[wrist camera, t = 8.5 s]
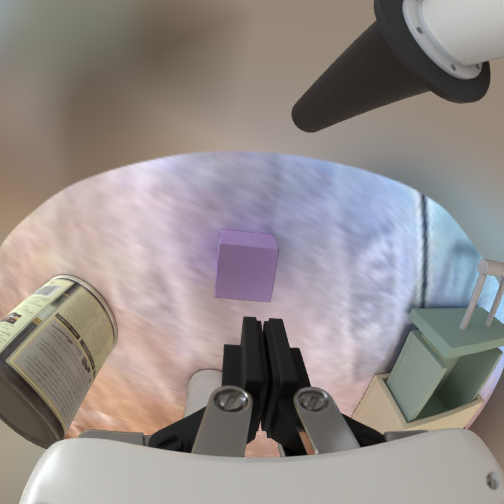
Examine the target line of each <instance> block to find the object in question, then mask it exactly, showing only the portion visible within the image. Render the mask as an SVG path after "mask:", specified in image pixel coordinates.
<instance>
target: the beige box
mask: <svg viewBox="0 0 504 504" xmlns="http://www.w3.org/2000/svg"><path fill="white" fill-rule="evenodd" d="M389 375H390V373H386V374H377V375H374V377H373V379H372V381H371V383H370V385H369V387H368V389H367V391H366V393H365V395H364V396H363V398H362V400H361V402H360V404H359V406H358V407H357V409H356V411H355V413H354V414H353V416H352V419H354V420H356V421H358V422H360V423H362V424H364V425H366V426H369V427H371V428H373V429H375V430H377V431H378V432H380V433H381V434H384V432H387V431H412V430H428V431H433V430H438V429H447V428H461V429H463V428H464V427H465V426H466V425H467V423H468V422H469V421H470V420H471V418H472V417H473V416H474V415H475V413H476V412H477V411H478V409H479V408H480V407H481V405H482V404H483V402H484V400H483V399H482V398H481V396H480V395H479V394H478V395H477V397H476V398H475V400H474V401H473V402H470V403H468V404H465V405H463V406H460V407H458V408H455V409H452V410H449V411H446V412H444V413H441V414H437V415H434V416H431V417H428V418H424V419H421V420H417V421H414V422H410V423H407V422H406V420H405V418H404V417H403V415H402V413H401V411H400V409H399V407H398V406H397V404H396V402H395V400H394V398H393V397H392V395H391V393H390V391H389V390H388V388H387V386H386V384H385V383H386V381H387V379H388V377H389Z"/></svg>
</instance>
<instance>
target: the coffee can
mask: <svg viewBox="0 0 504 504" xmlns="http://www.w3.org/2000/svg"><path fill="white" fill-rule="evenodd" d="M116 341H117V326H116V322H115V319H114V316H113V314H112V312H111V310H110V308H109V306H108V305H107V303H106V302H105V300H104V299H103V298H102V296H101V295H100V294H99V293H98V292H97V291H96V290H95V289H94V288H92V287H91V286H90V285H89V284H88V283H86V282H84V281H83V280H81V279H79V278H77V277H74V276H70V275H59V276H55V277H53V278H51V279H50V280H49V281H48V282H47V283H46V284H45V285H43V286H42V287H41V288H39V289H38V290H37V291H36V292H34V293H33V294H32V295H31V296H29V297H28V298H27V299H26V300H24V301H23V302H22V303H21V304H19V305H18V306H17V307H16V308H15V309H13V310H12V311H11V312H10V313H9V314H7V315H6V316H5V317H4V318H3V319H2V320H1V321H0V419H1V420H2V421H3V422H5V423H6V424H7V425H8V426H9V427H10V428H12V429H13V430H14V431H15V432H17V433H18V434H19V435H21V436H22V437H24V438H25V439H27V440H28V441H30V442H32V443H34V444H36V445H38V446H40V447H42V448H45V449H48V448H49V447H50V446H51V445H53V444H54V443H56V442H58V441H61V440H64V437H65V435H66V433H67V431H68V429H69V427H70V425H71V423H72V421H73V419H74V417H75V415H76V413H77V411H78V409H79V407H80V405H81V403H82V402H83V400H84V398H85V396H86V394H87V392H88V390H89V388H90V387H91V385H92V383H93V381H94V379H95V378H96V376H97V374H98V372H99V370H100V369H101V367H102V365H103V363H104V362H105V360H106V358H107V357H108V355H109V353H110V352H111V351H112V349H113V348H114V346H115V344H116Z"/></svg>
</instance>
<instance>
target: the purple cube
mask: <svg viewBox="0 0 504 504" xmlns="http://www.w3.org/2000/svg"><path fill="white" fill-rule="evenodd" d="M278 254H279V248H278V246H277V243H276V241H275V239H274V236H273V235H272V234H263V233H254V232H245V231H235V230H226V229H223V231H222V234H221V238H220V241H219V246H218V258H217V271H216V284H215V297H218V298H227V299H238V300H248V301H260V302H271V297H272V291H273V285H274V279H275V273H276V267H277V260H278Z"/></svg>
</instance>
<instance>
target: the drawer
mask: <svg viewBox="0 0 504 504" xmlns="http://www.w3.org/2000/svg"><path fill="white" fill-rule="evenodd" d="M478 271H479V273H480V274H479V277H478V280H477V283H476V286H475V289H474V292H473V294H472V297H471V300H470V303H469V305H468V308H433V309H412V311H411V313H410V316H409V319H410V320H411V321H412V322H413V323H414V325H415V326H416V327H417V328H418V329H419V330H411V331H410V332H409V335H408V337H407V339H406V342H405V344H404V346H403V348H402V351H401V353H400V355H399V357H398V359H397V361H396V363H395V365H394V367H393V369H392V371H391V373H390V375H389V377H388V379H387V381H386V383H385V384H386V386H387V388H388V390H389V391H390V393H391V395H392V397H393V398H394V400H395V402H396V404H397V406H398V407H399V409H400V411H401V413H402V415H403V417H404V418H405V420H406V422H407V423H410V422H414V421H417V420H421V419H424V418H428V417H431V416H434V415H437V414H441V413H444V412H446V411H449V410H452V409H455V408H458V407H460V406H463V405H465V404H468V403H470V402H473V401H474V400H475V398H476V397H477V395H478V394H479V392H480V391H481V389H482V388H483V386H484V385H485V383H486V382H487V380H488V378H489V377H490V375H491V374H492V372H493V370H494V368H495V367H496V365H497V363H498V362H499V360H500V358H501V356H502V354H503V352H502V351H501V350H500V349H499V348H498V347H500V346H504V324H502V323H501V322H500V321H499V320H498V319H496V318H495V317H494V315H495V313H496V310H497V308H498V305H499V303H500V300H501V298H502V295H503V292H504V263H503V262H497V261H492V260H486V259H482V260H480V262H479V264H478ZM486 275H492V276H501V277H502V280H501V283H500V286H499V289H498V292H497V294H496V297H495V300H494V302H493V305H492V308H491V310H490V312H487V311H486V310H485V309H484V308H482V307H476V308H475V306H476V303H477V301H478V298H479V295H480V293H481V290H482V287H483V284H484V281H485V278H486Z"/></svg>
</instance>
